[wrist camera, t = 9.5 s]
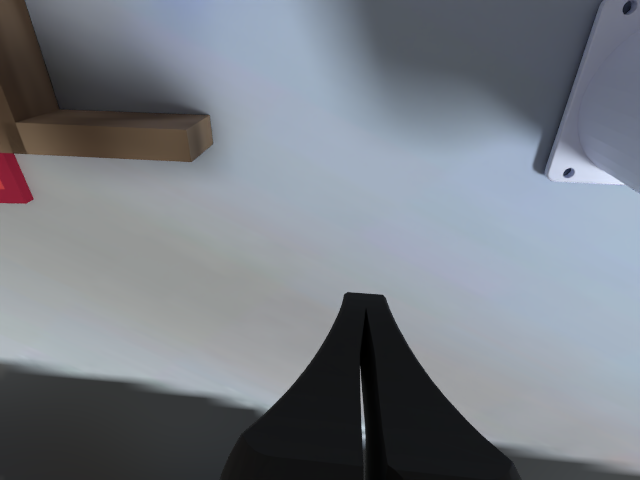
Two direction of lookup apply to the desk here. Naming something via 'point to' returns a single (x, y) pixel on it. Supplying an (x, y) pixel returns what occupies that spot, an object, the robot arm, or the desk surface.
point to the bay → (78, 111)
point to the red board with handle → (12, 181)
